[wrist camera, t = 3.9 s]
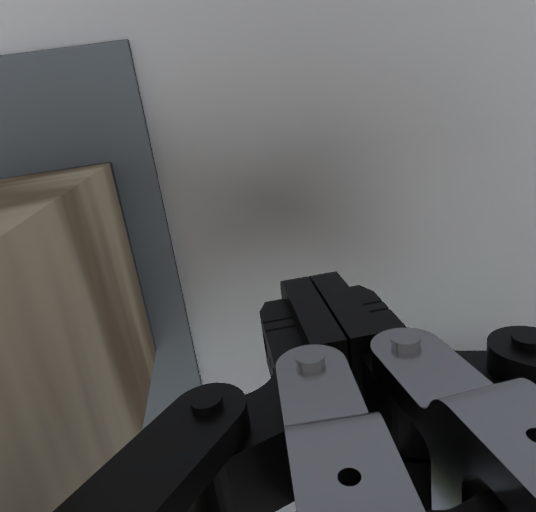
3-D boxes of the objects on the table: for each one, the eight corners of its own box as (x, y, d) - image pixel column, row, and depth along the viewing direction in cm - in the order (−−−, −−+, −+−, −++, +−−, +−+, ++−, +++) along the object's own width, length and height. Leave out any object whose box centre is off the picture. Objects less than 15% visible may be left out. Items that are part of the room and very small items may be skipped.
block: (111, 161, 17) (-104, 305, 5) (156, 348, 20) (87, 739, 8) (-28, 182, 17) (-625, 394, 5) (37, 370, 20) (-237, 821, 7)
